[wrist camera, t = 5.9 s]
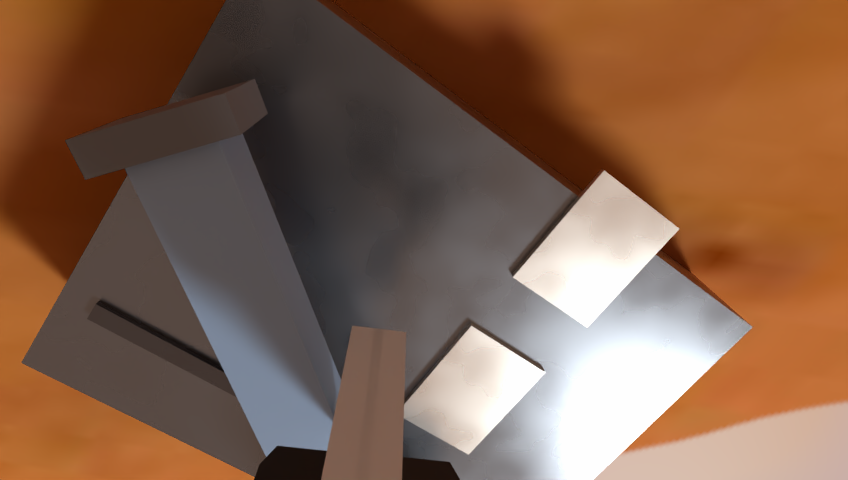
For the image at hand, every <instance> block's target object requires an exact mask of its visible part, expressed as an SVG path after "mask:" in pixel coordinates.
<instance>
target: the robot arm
mask: <svg viewBox="0 0 848 480" xmlns="http://www.w3.org/2000/svg"><path fill="white" fill-rule="evenodd" d="M405 355H406V332H402V331H393V330H385V329H377V328H368V327H360V326H352V329H351V334H350V339H349V344H348V349H347V354H346V359H345V364H344V369H343V374H342V379H341V384H340V388H339V393H338V398H337V403H336V408H335V413H334V418H333V423H332V428H331V433H330V438H329V443H328V448H327V451H324V450H315V449H305V448H296V447H286V446H276V447H275V448H274V450H273V451H272V452H271V453H270V454H269V455H268V456H267V457H266V458H265V459H264V460H263V461H262V462H261V463H260V464H259V467H258V470H257V473H256V476H255V478H254V480H460V478H459V477H458V475H457V473H456V472H455V470H454V468H453V466H452V465H451V463H450V462H446V461H437V460H427V459H418V458H408V457H403V425H404V390H405Z"/></svg>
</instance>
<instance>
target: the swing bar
mask: <svg viewBox="0 0 848 480" xmlns="http://www.w3.org/2000/svg"><path fill="white" fill-rule="evenodd" d="M267 114H268V112H267V110H266V107H265V104H264V102H263V99H262V96H261V94H260V91H259V89H258V86H257V83H256V81H255V79H252V80H249V81H246V82H242V83H239V84H235V85H232V86H229V87H225V88H222V89H219V90H215V91H212V92H208V93H205V94H202V95H198V96H195V97H192V98H188V99H185V100H181V101H178V102H175V103H171V104H168V105H165V106H161V107H158V108H154V109H151V110H148V111H144V112H141V113H138V114H134V115H131V116H127V117H124V118H121V119H118V120H116V121H113V122H111V123H108V124H106V125H103V126H100V127H98V128H95V129H93V130H90V131H88V132H85V133H82V134H80V135H77V136H75V137H72V138H70V139H67V140H65V142H66V144H67V145H68V147H69V149H70V151H71V153H72V155H73V157H74V159H75V161H76V163H77V165H78V167H79V168H80V170H81V172H82V174H83V176H84V178H85V180H86V179H90V178H93V177H97V176H100V175H104V174H107V173H111V172H114V171H117V170H121V169H124V168H125V170H126V172H127V174H128V176H129V179H130V181H131V183H132V185H133V187H134V189H135V191H136V193H137V195H138V197H139V199H140V201H141V203H142V205H143V207H144V209H145V211H146V213H147V215H148V217H149V219H150V221H151V223H152V225H153V227H154V229H155V232H156V234H157V236H158V238H159V240H160V242H161V244H162V246H163V248H164V250H165V252H166V254H167V256H168V258H169V260H170V262H171V264H172V266H173V268H174V270H175V272H176V274H177V276H178V278H179V280H180V282H181V285H182V287H183V289H184V291H185V293H186V295H187V297H188V299H189V301H190V303H191V305H192V307H193V309H194V311H195V313H196V315H197V317H198V319H199V321H200V323H201V325H202V327H203V329H204V331H205V333H206V335H207V337H208V340H209V342H210V344H211V346H212V348H213V350H214V352H215V354H216V356H217V358H218V360H219V362H220V364H221V366H222V368H223V370H224V372H225V374H226V376H227V378H228V380H229V382H230V384H231V386H232V388H233V390H234V393H235V395H236V397H237V399H238V401H239V403H240V405H241V407H242V409H243V411H244V413H245V415H246V417H247V419H248V421H249V423H250V425H251V427H252V429H253V431H254V433H255V435H256V437H257V439H258V441H259V443H260V445H261V448H262V450H263V452H264V454H265V456H266V457H267V456H268V455H269V454H270V453H271V452H272V451H273V450H274V448H275V447H276V446H286V447H296V448H305V449H315V450H324V451H327V448H328V443H329V438H330V433H331V428H332V423H333V418H334V413H335V408H336V403H337V398H338V393H339V388H340V384H341V378H340V376H339V373H338V371H337V368H336V366H335V363H334V361H333V358H332V356H331V353H330V351H329V348H328V346H327V343H326V341H325V338H324V336H323V333H322V331H321V328H320V326H319V323H318V321H317V318H316V316H315V313H314V311H313V308H312V306H311V303H310V301H309V298H308V296H307V293H306V291H305V288H304V286H303V283H302V281H301V278H300V276H299V273H298V271H297V268H296V266H295V263H294V261H293V258H292V256H291V253H290V251H289V248H288V246H287V243H286V241H285V238H284V236H283V233H282V231H281V228H280V226H279V223H278V221H277V218H276V216H275V213H274V211H273V208H272V206H271V203H270V201H269V198H268V196H267V193H266V191H265V188H264V186H263V183H262V181H261V178H260V176H259V173H258V171H257V168H256V166H255V163H254V161H253V158H252V156H251V153H250V151H249V148H248V146H247V143H246V141H245V138H244V136H243V133H244V132H245V131H246V130H248V129H249V128H250V127H251V126H253V125H254V124H255V123H257V122H258V121H259V120H260V119H262V118H263V117H264V116H265V115H267Z"/></svg>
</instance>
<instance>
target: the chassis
mask: <svg viewBox="0 0 848 480" xmlns="http://www.w3.org/2000/svg"><path fill="white" fill-rule="evenodd" d="M252 79H255V81H256V83H257V86H258V89H259V91H260V94H261V96H262V99H263V102H264V104H265V107H266V110H267V112H268V114H267V115H265V116H264V117H263V118H262V119H260V120H259V121H258V122H257V123H255V124H254V125H253V126H251V127H250V128H249V129H248V130H246V131H245V132H244V133H243V136H244V138H245V141H246V143H247V146H248V148H249V151H250V153H251V156H252V158H253V161H254V163H255V166H256V168H257V171H258V173H259V176H260V178H261V181H262V183H263V186H264V188H265V191H266V193H267V196H268V198H269V201H270V203H271V206H272V208H273V211H274V213H275V216H276V218H277V221H278V223H279V226H280V228H281V231H282V233H283V236H284V238H285V241H286V243H287V246H288V248H289V251H290V253H291V256H292V258H293V261H294V263H295V266H296V268H297V271H298V273H299V276H300V278H301V281H302V283H303V286H304V288H305V291H306V293H307V296H308V298H309V301H310V303H311V306H312V308H313V311H314V313H315V316H316V318H317V321H318V323H319V326H320V328H321V331H322V333H323V336H324V338H325V341H326V343H327V346H328V348H329V351H330V353H331V356H332V358H333V361H334V363H335V366H336V368H337V371H338V373H339V376H340V378H341V379H342V374H343V369H344V364H345V359H346V354H347V349H348V344H349V339H350V334H351V329H352V326H360V327H368V328H377V329H385V330H393V331H402V332H406V355H405V390H404V425H403V457H408V458H418V459H427V460H437V461H446V462H450V463H451V465H452V466H453V468H454V470H455V472H456V473H457V475H458V477H459V478H460V480H593V479H594V478H595V477H596V476H597V475H598V474H599V473H601V472H602V470H604V469H605V468H606V467H607V466H608V465H609V464H610V463H611V462H612V461H613V460H614V459H615V458H616V457H617V456H618V455H619V454H620V453H622V452H623V451H624V450H625V449H626V448H627V447H628V446H629V445H630V444H631V443H632V442H633V441H634V440H635V439H636V438H637V437H638V436H639V435H640V434H641V433H642V432H643V431H645V430H646V429H647V428H648V427H649V426H650V425H651V424H652V423H653V422H654V421H655V420H656V419H657V418H658V417H659V416H660V415H661V414H662V413H663V412H664V411H665V410H666V409H667V408H669V407H670V406H671V405H672V404H673V403H674V402H675V401H676V400H677V399H678V398H679V397H680V396H681V395H682V394H683V393H684V392H685V391H686V390H687V389H688V388H689V387H690V386H691V385H693V384H694V383H695V382H696V381H697V380H698V379H699V378H700V377H701V376H702V375H703V374H704V373H705V372H706V371H707V370H708V369H709V368H710V367H711V366H712V365H713V364H714V363H716V362H717V361H718V360H719V359H720V358H721V357H722V356H723V355H724V354H725V353H726V352H727V351H728V350H729V349H730V348H731V347H732V346H733V345H734V344H735V343H736V342H737V341H738V340H740V339H741V338H742V337H743V336H744V335H745V334H746V333H747V332H748V331H749V330H750V329H751V328H752V326H751V325H750V324H748V323H747V322H746V321H745V320H744V319H743V318H742V317H741V316H739V315H738V314H737V313H736V312H735V311H734V310H733V309H732V308H730V307H729V306H728V305H727V304H726V303H725V302H724V301H723V300H721V299H720V298H719V297H718V296H717V295H716V294H715V293H714V292H712V291H711V290H710V289H709V288H708V287H707V286H706V285H705V284H704V283H702V282H701V281H700V280H699V279H698V278H697V277H696V276H695V275H693V274H692V273H691V272H690V271H688V270H687V269H686V268H684V267H683V266H682V265H680V264H679V263H678V262H676V261H675V260H674V259H672V258H671V257H670V256H668V255H667V254H666V253H664V252H663V251H662V250H661V248H662V247H663V246H664V245H665V244H666V243H667V242H668V241H669V240H670V238H671V237H672V236H673V235H674V234H675V233H676V232H677V231H678V230H679V228H678V227H676V226H675V225H674V224H673V223H671V222H670V221H669V220H667V219H666V218H665V217H664V216H662V215H661V214H660V213H658V212H657V211H656V210H655V209H653V208H652V207H651V206H649V205H648V204H647V203H646V202H644V201H643V200H642V199H640V198H639V197H638V196H637V195H635V194H634V193H633V192H631V191H630V190H629V189H628V188H626V187H625V186H624V185H622V184H621V183H620V182H619V181H617V180H616V179H615V178H613V177H612V176H611V175H610V174H608V173H607V172H606V171H604V170H603V169H601V170H600V171H599V172H598V174H597V175H596V176H595V177H594V178H593V179H592V181H591V182H590V183H589V184H588V185H587V186H586V188H585V189H584V190H583V191H582V190H581V189H580V188H578V187H577V186H576V185H574V184H573V183H572V182H571V181H569V180H568V179H567V178H565V177H564V176H563V175H561V174H560V173H559V172H557V171H556V170H555V169H553V168H552V167H551V166H549V165H548V164H547V163H545V162H544V161H543V160H541V159H540V158H539V157H537V156H536V155H535V154H533V153H532V152H531V151H529V150H528V149H527V148H526V147H524V146H523V145H522V144H520V143H519V142H518V141H516V140H515V139H514V138H512V137H511V136H510V135H508V134H507V133H506V132H504V131H503V130H502V129H500V128H499V127H498V126H496V125H495V124H494V123H492V122H491V121H490V120H488V119H487V118H486V117H484V116H483V115H482V114H481V113H479V112H478V111H477V110H475V109H474V108H473V107H471V106H470V105H469V104H467V103H466V102H465V101H463V100H462V99H461V98H459V97H458V96H457V95H455V94H454V93H453V92H451V91H450V90H449V89H447V88H446V87H445V86H443V85H442V84H441V83H440V82H438V81H437V80H436V79H434V78H433V77H432V76H430V75H429V74H428V73H426V72H425V71H424V70H422V69H421V68H420V67H418V66H417V65H416V64H414V63H413V62H412V61H410V60H409V59H408V58H406V57H405V56H404V55H402V54H401V53H400V52H398V51H397V50H396V49H395V48H393V47H392V46H391V45H389V44H388V43H387V42H385V41H384V40H383V39H381V38H380V37H379V36H377V35H376V34H375V33H373V32H372V31H371V30H369V29H368V28H367V27H365V26H364V25H363V24H361V23H360V22H359V21H357V20H356V19H355V18H353V17H352V16H351V15H350V14H348V13H347V12H346V11H344V10H343V9H342V8H340V7H339V6H338V5H336V4H335V3H334V2H332V1H331V0H226V1H225V3H224V5H223V7H222V8H221V10H220V12H219V14H218V15H217V17H216V19H215V21H214V23H213V24H212V26H211V28H210V30H209V31H208V33H207V35H206V37H205V38H204V40H203V42H202V44H201V46H200V47H199V49H198V51H197V53H196V54H195V56H194V58H193V60H192V62H191V63H190V65H189V67H188V69H187V70H186V72H185V74H184V76H183V77H182V79H181V81H180V83H179V85H178V86H177V88H176V90H175V92H174V93H173V95H172V97H171V99H170V100H169V102H168V104H171V103H175V102H178V101H181V100H185V99H188V98H192V97H195V96H198V95H202V94H205V93H208V92H212V91H215V90H219V89H222V88H225V87H229V86H232V85H235V84H239V83H242V82H246V81H249V80H252ZM168 104H167V105H168ZM22 363H23V364H25V365H27V366H29V367H31V368H33V369H35V370H37V371H39V372H41V373H43V374H45V375H47V376H49V377H51V378H53V379H55V380H58V381H60V382H62V383H64V384H66V385H68V386H70V387H72V388H74V389H76V390H78V391H80V392H82V393H84V394H86V395H88V396H90V397H92V398H94V399H96V400H98V401H100V402H103V403H105V404H107V405H109V406H111V407H113V408H115V409H117V410H119V411H121V412H123V413H125V414H127V415H129V416H131V417H133V418H135V419H137V420H139V421H141V422H143V423H145V424H148V425H150V426H152V427H154V428H156V429H158V430H160V431H162V432H164V433H166V434H168V435H170V436H172V437H174V438H176V439H178V440H180V441H182V442H184V443H186V444H188V445H190V446H192V447H195V448H197V449H199V450H201V451H203V452H205V453H207V454H209V455H211V456H213V457H215V458H217V459H219V460H221V461H223V462H225V463H227V464H229V465H231V466H233V467H235V468H237V469H240V470H242V471H244V472H246V473H248V474H250V475H252V476H254V477H255V476H256V473H257V470H258V467H259V464H260V463H261V462H262V461H263V460H264V459H265V458H266V456H265V454H264V452H263V450H262V448H261V445H260V443H259V441H258V439H257V437H256V435H255V433H254V431H253V429H252V427H251V425H250V423H249V421H248V419H247V417H246V415H245V413H244V411H243V409H242V407H241V405H240V403H239V401H238V399H237V397H236V395H235V393H234V390H233V388H232V386H231V384H230V382H229V380H228V378H227V376H226V374H225V372H224V370H223V368H222V366H221V364H220V362H219V360H218V358H217V356H216V354H215V352H214V350H213V348H212V346H211V344H210V342H209V340H208V337H207V335H206V333H205V331H204V329H203V327H202V325H201V323H200V321H199V319H198V317H197V315H196V313H195V311H194V309H193V307H192V305H191V303H190V301H189V299H188V297H187V295H186V293H185V291H184V289H183V287H182V285H181V282H180V280H179V278H178V276H177V274H176V272H175V270H174V268H173V266H172V264H171V262H170V260H169V258H168V256H167V254H166V252H165V250H164V248H163V246H162V244H161V242H160V240H159V238H158V236H157V234H156V232H155V229H154V227H153V225H152V223H151V221H150V219H149V217H148V215H147V213H146V211H145V209H144V207H143V205H142V203H141V201H140V199H139V197H138V195H137V193H136V191H135V189H134V187H133V185H132V183H131V181H130V179H129V176H128V175H127V177H126V178H125V180H124V182H123V184H122V185H121V187H120V189H119V191H118V193H117V194H116V196H115V198H114V200H113V201H112V203H111V205H110V207H109V209H108V210H107V212H106V214H105V216H104V217H103V219H102V221H101V223H100V224H99V226H98V228H97V230H96V232H95V233H94V235H93V237H92V239H91V240H90V242H89V244H88V246H87V247H86V249H85V251H84V253H83V255H82V256H81V258H80V260H79V262H78V263H77V265H76V267H75V269H74V271H73V272H72V274H71V276H70V278H69V279H68V281H67V283H66V285H65V286H64V288H63V290H62V292H61V294H60V295H59V297H58V299H57V301H56V302H55V304H54V306H53V308H52V309H51V311H50V313H49V315H48V317H47V318H46V320H45V322H44V324H43V325H42V327H41V329H40V331H39V332H38V334H37V336H36V338H35V340H34V341H33V343H32V345H31V347H30V348H29V350H28V352H27V354H26V356H25V357H24V359H23V361H22Z"/></svg>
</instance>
